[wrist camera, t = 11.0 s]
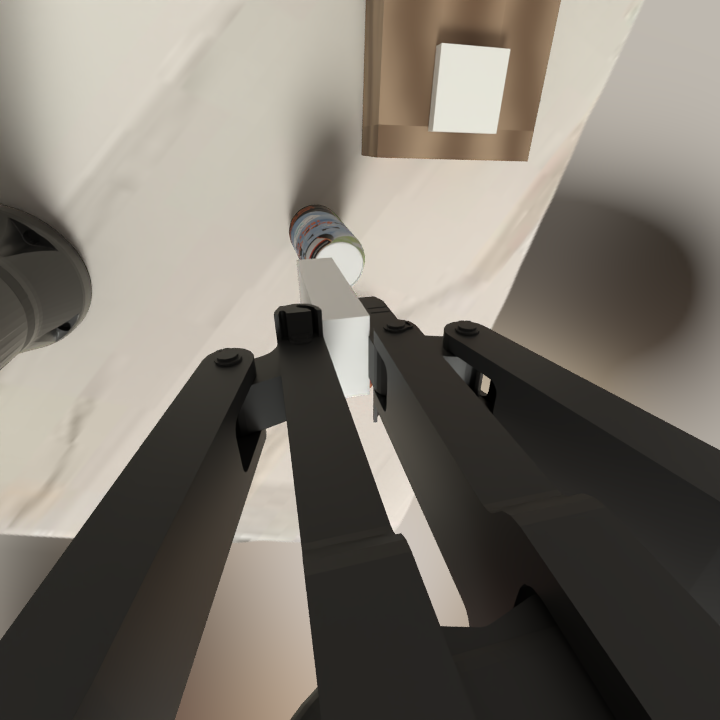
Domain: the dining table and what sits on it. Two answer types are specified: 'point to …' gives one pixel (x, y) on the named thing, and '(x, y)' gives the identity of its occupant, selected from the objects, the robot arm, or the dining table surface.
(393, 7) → the brown boxy piece
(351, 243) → the beverage can
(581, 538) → the robot arm
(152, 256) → the dining table surface
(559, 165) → the dining table surface
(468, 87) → the white block
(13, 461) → the dining table surface
